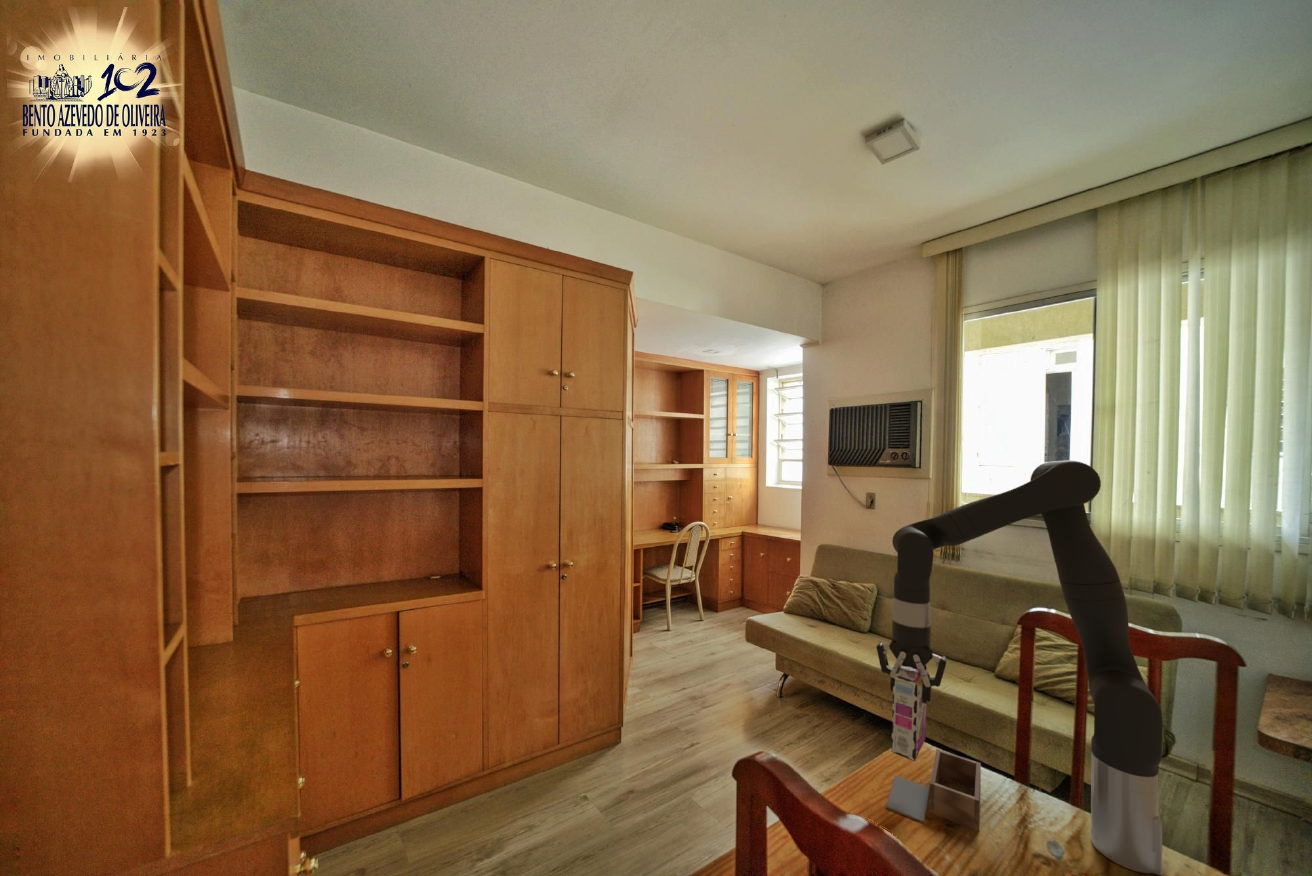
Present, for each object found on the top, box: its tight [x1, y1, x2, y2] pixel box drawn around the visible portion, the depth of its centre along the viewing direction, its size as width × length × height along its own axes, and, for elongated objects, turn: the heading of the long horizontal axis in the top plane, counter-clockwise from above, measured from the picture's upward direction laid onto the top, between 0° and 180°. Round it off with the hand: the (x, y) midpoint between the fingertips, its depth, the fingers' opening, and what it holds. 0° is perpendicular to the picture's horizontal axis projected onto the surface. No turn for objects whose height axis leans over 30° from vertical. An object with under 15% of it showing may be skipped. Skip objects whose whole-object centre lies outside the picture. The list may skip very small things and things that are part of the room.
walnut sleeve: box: [929, 748, 982, 832], centre depth 105 cm, size 9×15×6 cm, turn 145°
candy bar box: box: [890, 665, 929, 762], centre depth 106 cm, size 11×5×16 cm, turn 141°
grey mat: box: [885, 775, 930, 824], centre depth 105 cm, size 7×12×1 cm, turn 145°
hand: (910, 697), depth 106 cm, fingers closed on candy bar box, 5 cm apart
